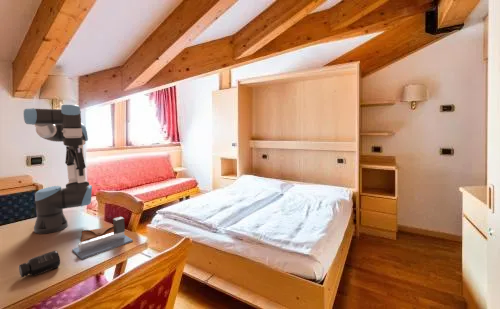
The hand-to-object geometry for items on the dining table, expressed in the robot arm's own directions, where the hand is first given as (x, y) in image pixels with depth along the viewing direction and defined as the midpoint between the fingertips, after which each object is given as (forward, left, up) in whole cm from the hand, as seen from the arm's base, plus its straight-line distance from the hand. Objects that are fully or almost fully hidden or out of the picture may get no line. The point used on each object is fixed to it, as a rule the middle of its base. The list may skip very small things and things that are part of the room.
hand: (76, 180), depth 127 cm
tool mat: (+14, +6, -32) cm, 35 cm away
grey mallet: (+14, +5, -31) cm, 34 cm away
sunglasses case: (+2, +9, -32) cm, 34 cm away
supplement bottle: (+18, -14, -28) cm, 36 cm away
